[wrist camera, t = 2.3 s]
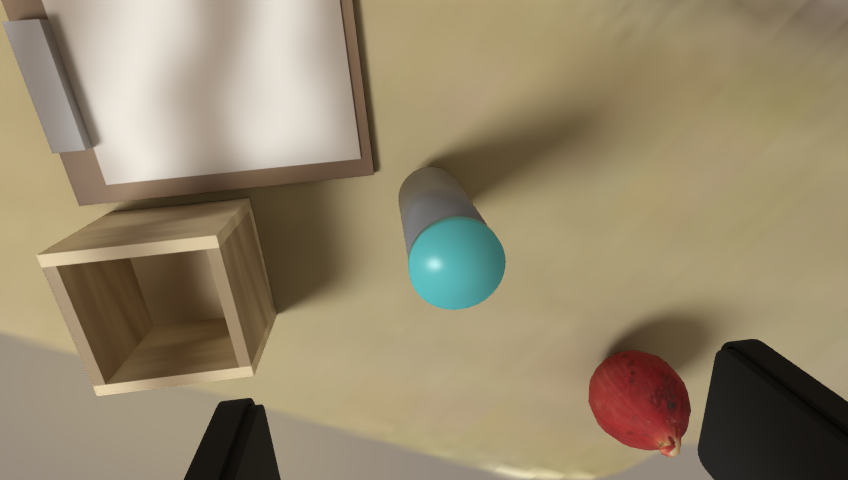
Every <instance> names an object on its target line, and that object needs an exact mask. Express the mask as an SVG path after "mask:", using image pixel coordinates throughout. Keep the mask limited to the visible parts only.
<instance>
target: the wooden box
mask: <svg viewBox="0 0 848 480" xmlns="http://www.w3.org/2000/svg"><path fill="white" fill-rule="evenodd" d="M36 256H37V258H38V260H39V262H40V265H41V267H42V269H43V272H44V274H45V276H46V279H47V281H48V283H49V286H50V288H51V290H52V293H53V295H54V297H55V300H56V302H57V304H58V306H59V309H60V311H61V313H62V316H63V318H64V320H65V323H66V325H67V327H68V330H69V332H70V334H71V337H72V339H73V341H74V343H75V346H76V348H77V350H78V353H79V355H80V357H81V360H82V362H83V364H84V366H85V369H86V371H87V374H88V376H89V378H90V380H91V383H92V385H93V387H94V390H95V392H96V394H97V396H102V395H109V394H117V393H124V392H132V391H140V390H148V389H156V388H163V387H171V386H179V385H187V384H194V383H202V382H210V381H217V380H225V379H233V378H240V377H248V376H254V374H255V371H256V369H257V366H258V363H259V361H260V358H261V356H262V353H263V350H264V348H265V345H266V342H267V340H268V337H269V334H270V332H271V329H272V326H273V324H274V321H275V318H276V316H277V314H276V310H275V305H274V301H273V297H272V292H271V288H270V284H269V280H268V275H267V271H266V267H265V262H264V258H263V254H262V249H261V245H260V241H259V237H258V232H257V228H256V224H255V219H254V215H253V211H252V207H251V202H250V198H242V199H232V200H223V201H214V202H204V203H195V204H186V205H176V206H167V207H157V208H148V209H139V210H129V211H120V212H110V213H108V214H106V215H104V216H102V217H101V218H99V219H97V220H96V221H94V222H92V223H91V224H89V225H87V226H85V227H84V228H82V229H80V230H79V231H77V232H75V233H73V234H72V235H70V236H68V237H67V238H65V239H63V240H62V241H60V242H58V243H56V244H55V245H53V246H51V247H50V248H48V249H46V250H44V251H43V252H41V253H39V254H38V255H36Z"/></svg>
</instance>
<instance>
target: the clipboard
mask: <svg viewBox="0 0 848 480" xmlns="http://www.w3.org/2000/svg"><path fill="white" fill-rule="evenodd" d="M1 1H2V3H3V6H4V9H5V11H6V14H7V16H8V19H9V21H7V22H2V23H3V26H4V29H5V31H6V34H7V36H8V39H9V42H10V44H11V47H12V49H13V52H14V55H15V57H16V60H17V62H18V65H19V68H20V70H21V73H22V75H23V78H24V81H25V83H26V86H27V88H28V91H29V94H30V96H31V99H32V102H33V104H34V107H35V109H36V112H37V115H38V117H39V120H40V122H41V125H42V128H43V130H44V133H45V135H46V138H47V141H48V143H49V146H50V148H51V151H52V153H59V154H60V157H61V159H62V162H63V165H64V167H65V170H66V173H67V175H68V178H69V180H70V183H71V186H72V188H73V191H74V194H75V196H76V199H77V202H78V204H79V206H83V205H93V204H102V203H112V202H121V201H131V200H140V199H150V198H159V197H169V196H178V195H188V194H197V193H207V192H216V191H226V190H235V189H245V188H254V187H264V186H273V185H283V184H292V183H302V182H311V181H321V180H330V179H340V178H349V177H359V176H368V175H374V169H373V161H372V153H371V145H370V137H369V129H368V121H367V114H366V106H365V98H364V90H363V82H362V74H361V66H360V58H359V50H358V42H357V34H356V26H355V18H354V10H353V2H352V0H1Z"/></svg>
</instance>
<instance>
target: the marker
mask: <svg viewBox="0 0 848 480" xmlns="http://www.w3.org/2000/svg"><path fill="white" fill-rule="evenodd" d="M399 207H400V213H401V219H402V225H403V231H404V237H405V243H406V249H407V254H408V268H409V274H410V279H411V282H412V285H413V287H414V289H415V290H416V292H417V293H418V294H419V295H420V296H421V297H422V298H423V299H424V300H425V301H427V302H428V303H430V304H432V305H434V306H436V307H439V308H443V309H451V310H456V309H464V308H468V307H472V306H474V305H476V304H479V303H480V302H482V301H484V300H485V299H486V298H488V297H489V296H490V295H491V294H492V293H493V292H494V291H495V289H496V288H497V287H498V285H499V284H500V282H501V280H502V277H503V274H504V270H505V254H504V250H503V247H502V245H501V243H500V241H499V240H498V238H497V237H496V235H495V234H494V233H493V231H492V230H491V229H490V228H489V227H488V226H487V224H486V223H485V221H484V220H483V218H482V217H481V215H480V214H479V212H478V211H477V209H476V208H475V206H474V205H473V203H472V202H471V200H470V199H469V197H468V196H467V194H466V193H465V191H464V190H463V189H462V187H461V186H460V184H459V183H458V181H457V180H456V178H455V177H454V176H453V175H452V174H451V173H449V172H448V171H446V170H444V169H441V168H437V167H426V168H422V169H419V170H417V171H415V172H413V173H412V174H410V175H409V176H408V177H407V178H406V179H405V181H404V182H403V184H402V186H401V188H400V191H399Z"/></svg>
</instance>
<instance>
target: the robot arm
mask: <svg viewBox="0 0 848 480" xmlns="http://www.w3.org/2000/svg"><path fill="white" fill-rule="evenodd" d="M698 456H699V458H700V461H701V463H702V465H703V466H704V468H705V469H706V470H707V472H708V473H709V474H710V475H711V476H712V478H713V479H714V480H848V402H847V401H846V400H844V399H843V398H842V397H840V396H839V395H837V394H836V393H834V392H833V391H832V390H830V389H829V388H827V387H826V386H824V385H823V384H822V383H820V382H819V381H817V380H816V379H814V378H813V377H812V376H810V375H809V374H807V373H806V372H804V371H803V370H802V369H800V368H799V367H797V366H796V365H795V364H793V363H792V362H790V361H789V360H787V359H786V358H785V357H783V356H782V355H780V354H779V353H777V352H776V351H775V350H773V349H772V348H770V347H769V346H767V345H766V344H765V343H763V342H761V341H759V340H757V339H748V340H740V341H731V342H727V343H725V344H724V345H723V346H722V348H721V350H720V351H718V352H717V353H716V356H715V361H714V366H713V371H712V376H711V382H710V387H709V392H708V397H707V402H706V408H705V413H704V418H703V423H702V429H701V434H700V439H699V444H698ZM184 480H281V479H280V475H279V471H278V466H277V462H276V457H275V453H274V448H273V444H272V439H271V435H270V431H269V426H268V422H267V417H266V413H265V409H264V406H263V405H255V403H254V401H253V399H251V398H246V399H237V400H229V401H221V402H220V403H219V404H218V406H217V408H216V410H215V412H214V414H213V416H212V419H211V421H210V423H209V425H208V427H207V430H206V432H205V434H204V436H203V438H202V441H201V443H200V445H199V447H198V449H197V452H196V454H195V456H194V458H193V460H192V463H191V465H190V467H189V469H188V471H187V474H186V476H185V478H184Z"/></svg>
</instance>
